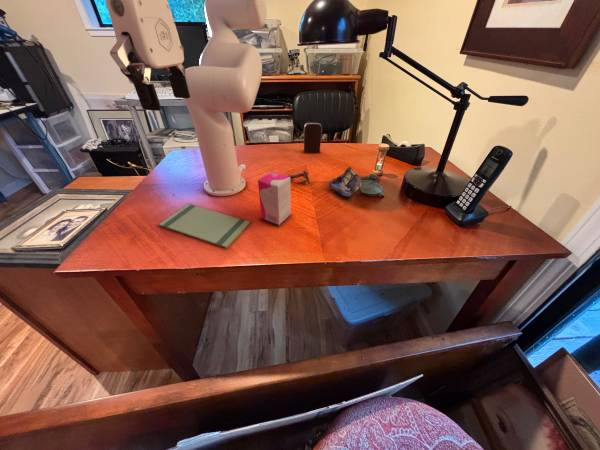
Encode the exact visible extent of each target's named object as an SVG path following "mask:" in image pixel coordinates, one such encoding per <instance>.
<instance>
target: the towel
mask: <svg viewBox="0 0 600 450" xmlns="http://www.w3.org/2000/svg"><path fill="white" fill-rule="evenodd" d="M250 224H251V221H249V220H246V219H243V218H238V217H235V216H232V215H229V214H225V213H222V212H218V211H214V210H211V209H207V208H204V207H201V206H197V205H195V204H190V203H186V204H185V205H184V206H182V207H181V208H179V209H178V210H176V211H175V212H174V213H172V214H171V215H170V216H168V217H166V218H165V219H164V220H163V221H161V222H160V223H158V226H159V227H161V228H164V229H167V230H171V231H173V232H176V233H178V234H179V233H180V234H181V235H185V236H188V237H190V238H194V239H197V240H200V241H203V242H205V243H209V244H212V245H215V246H218V247H221V248H224V249H228V248H229V247H230V245H231V244H232V243H233V242H234V241H235V240H236V239H237V238H238V237H239V236H240V235H241V234H242V233H243V232H244V230H245V229H247V227H248V226H249V225H250Z"/></svg>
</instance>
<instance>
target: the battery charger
mask: <svg viewBox="0 0 600 450" xmlns="http://www.w3.org/2000/svg"><path fill="white" fill-rule="evenodd" d="M322 135H323V126H322V124H321V123H320V122H315V121H308V122H306V123H305V124H304V126H303V152H304V153H306V154H320V153H321V145H322Z"/></svg>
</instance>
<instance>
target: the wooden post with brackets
mask: <svg viewBox="0 0 600 450" xmlns="http://www.w3.org/2000/svg"><path fill="white" fill-rule="evenodd" d="M309 174H310V172H309V171H307V170H303V172H299V173H296V174H292V175H291V174H290V173H289V174H287V175H286V176H288V177H290V181H291V180H293V179H298V178H301V177H303V178H304V179H302V180H300V181H299V184H301V185H302V184H306V183H307V184H308V185H311V179H310V177H309V176H308V175H309Z"/></svg>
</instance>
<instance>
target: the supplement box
mask: <svg viewBox="0 0 600 450" xmlns="http://www.w3.org/2000/svg"><path fill="white" fill-rule="evenodd" d="M257 185H258V196H259V205H260V216H261V220H262V221H264V222H267V223H269V224H272V225H275V226H277V227H280V226H281V225H283V224H284V222H285V221H287V220H288V219H289V218H290V217H291V215H292V210H291V209H292V208H291V207H292V205H291V203H292V202H291V201H292V199H291V197H292V196H291V194H292V193H291V192H292V191H291V189H292V188H291V180H290V177H288V176H287V175H285V174H280V173H277V172H274V171H271V172H269V173H268V174H266V175H264V176H263V177H261V178H259V179H257Z"/></svg>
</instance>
